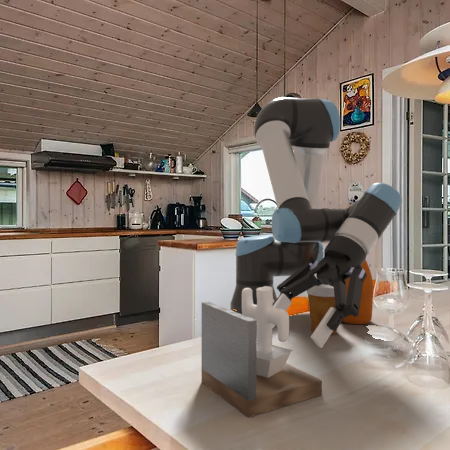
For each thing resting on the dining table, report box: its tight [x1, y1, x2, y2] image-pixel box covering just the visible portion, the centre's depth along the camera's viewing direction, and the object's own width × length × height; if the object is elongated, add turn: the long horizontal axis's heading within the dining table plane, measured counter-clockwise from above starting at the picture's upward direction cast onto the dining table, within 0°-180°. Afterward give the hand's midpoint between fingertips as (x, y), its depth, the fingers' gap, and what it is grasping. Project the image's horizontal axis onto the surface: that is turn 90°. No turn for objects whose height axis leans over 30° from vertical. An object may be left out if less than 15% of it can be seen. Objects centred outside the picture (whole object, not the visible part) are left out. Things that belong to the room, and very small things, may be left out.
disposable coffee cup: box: [305, 284, 338, 335], centre depth 108 cm, size 10×10×12 cm
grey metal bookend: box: [201, 301, 257, 401], centre depth 69 cm, size 2×15×12 cm, turn 31°
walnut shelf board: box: [201, 362, 323, 418], centre depth 73 cm, size 15×15×2 cm
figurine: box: [242, 286, 293, 378], centre depth 74 cm, size 7×9×15 cm
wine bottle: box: [341, 258, 374, 325], centre depth 118 cm, size 10×10×30 cm
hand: (290, 332), depth 76 cm, fingers open, 13 cm apart
